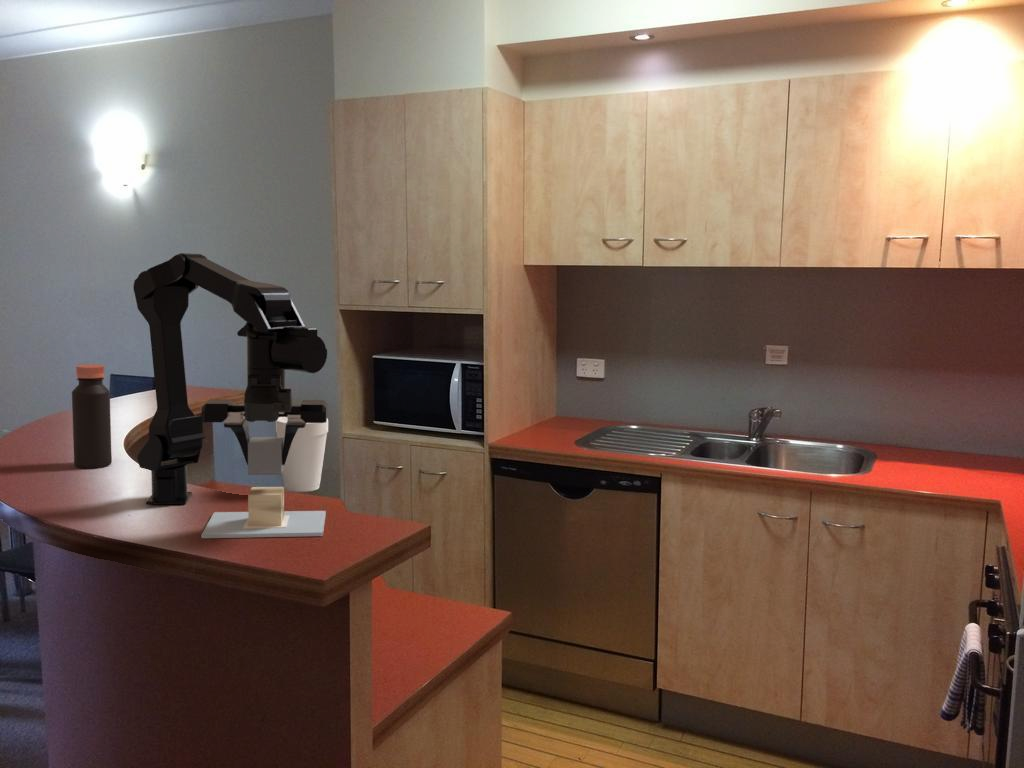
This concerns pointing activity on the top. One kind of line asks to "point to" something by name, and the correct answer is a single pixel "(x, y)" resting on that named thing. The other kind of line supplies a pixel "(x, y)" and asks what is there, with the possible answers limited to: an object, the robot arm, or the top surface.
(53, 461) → the top surface
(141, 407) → the top surface
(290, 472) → the foam cup
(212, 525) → the board
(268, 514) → the maple block
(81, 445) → the bottle
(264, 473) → the charcoal block
